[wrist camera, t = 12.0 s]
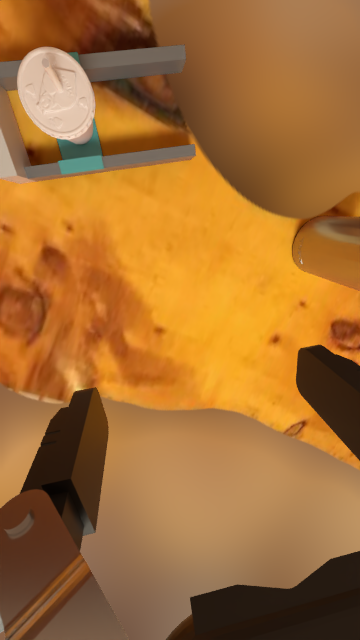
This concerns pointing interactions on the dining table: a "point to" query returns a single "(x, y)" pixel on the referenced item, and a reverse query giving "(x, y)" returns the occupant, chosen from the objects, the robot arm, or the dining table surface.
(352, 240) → the robot arm
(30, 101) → the smoothie
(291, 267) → the dining table surface
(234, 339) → the dining table surface
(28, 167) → the guide channel
